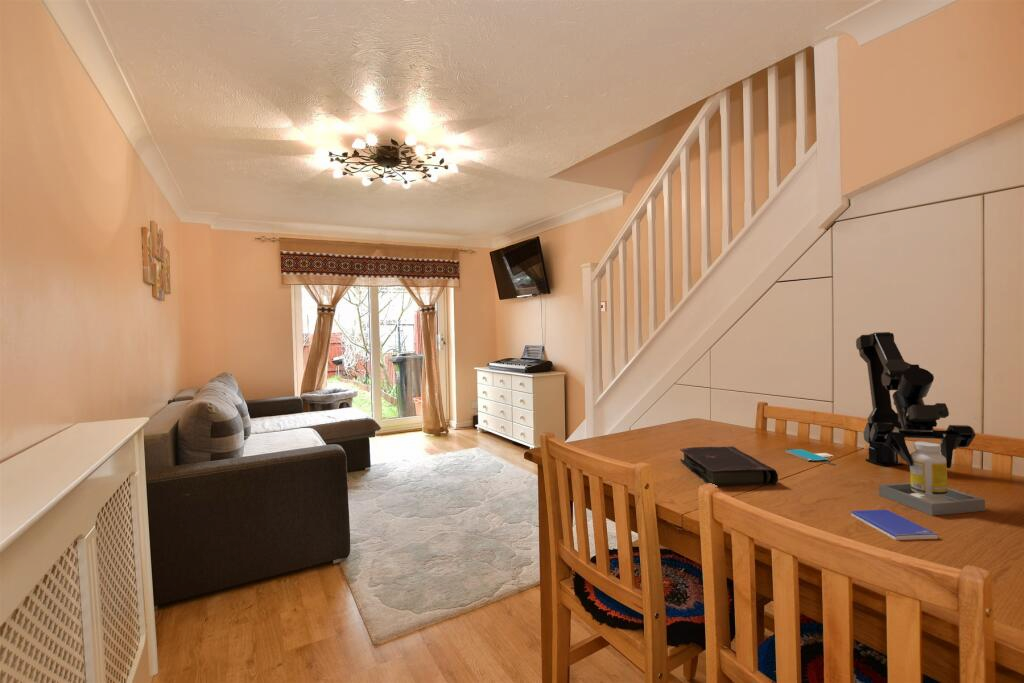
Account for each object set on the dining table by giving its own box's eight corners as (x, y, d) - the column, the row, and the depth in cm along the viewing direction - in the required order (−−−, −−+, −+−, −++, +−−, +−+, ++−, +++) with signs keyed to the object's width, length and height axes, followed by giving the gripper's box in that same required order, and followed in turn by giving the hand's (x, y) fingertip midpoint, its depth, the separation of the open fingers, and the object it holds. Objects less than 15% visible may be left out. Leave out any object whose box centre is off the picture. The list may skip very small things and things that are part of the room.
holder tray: (926, 490, 115) (926, 480, 115) (985, 510, 102) (984, 499, 102) (879, 495, 114) (878, 485, 114) (932, 515, 101) (931, 504, 101)
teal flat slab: (855, 465, 140) (854, 459, 140) (817, 468, 139) (817, 462, 139) (807, 449, 160) (807, 444, 160) (774, 451, 159) (774, 446, 159)
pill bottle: (952, 493, 107) (951, 444, 107) (940, 500, 104) (939, 448, 104) (917, 486, 113) (916, 438, 112) (905, 491, 110) (903, 443, 109)
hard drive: (937, 533, 91) (888, 509, 103) (895, 534, 91) (850, 510, 103) (938, 541, 91) (888, 516, 103) (895, 542, 91) (851, 517, 103)
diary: (736, 460, 149) (735, 445, 149) (778, 486, 124) (778, 468, 124) (677, 462, 150) (677, 447, 150) (708, 489, 125) (707, 470, 125)
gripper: (871, 390, 115) (887, 445, 105) (970, 391, 107) (997, 450, 98) (863, 415, 123) (877, 469, 113) (956, 418, 115) (979, 476, 105)
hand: (930, 466), depth 107 cm, fingers closed on pill bottle, 6 cm apart
